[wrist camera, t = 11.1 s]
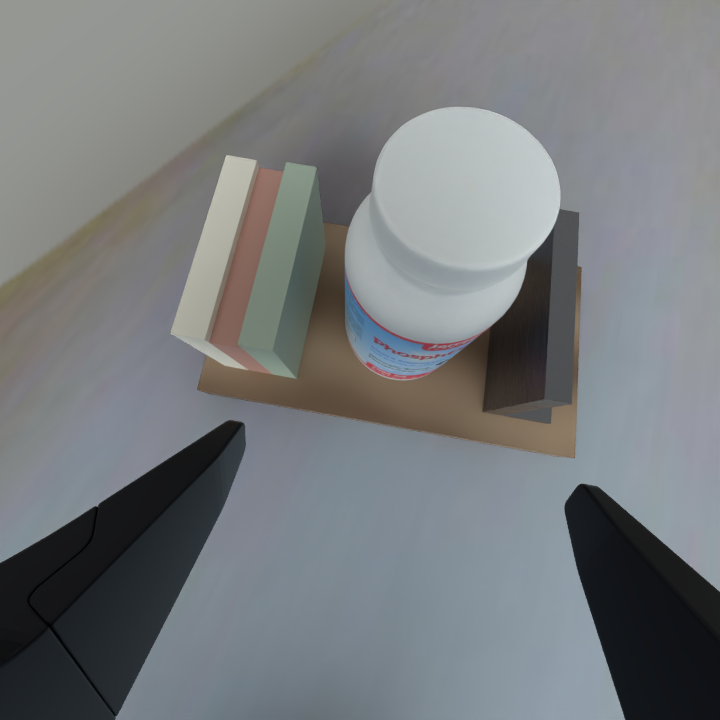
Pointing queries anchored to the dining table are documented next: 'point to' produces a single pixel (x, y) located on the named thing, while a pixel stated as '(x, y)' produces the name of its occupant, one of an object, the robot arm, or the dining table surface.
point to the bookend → (537, 333)
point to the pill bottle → (444, 237)
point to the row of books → (256, 268)
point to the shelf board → (393, 397)
